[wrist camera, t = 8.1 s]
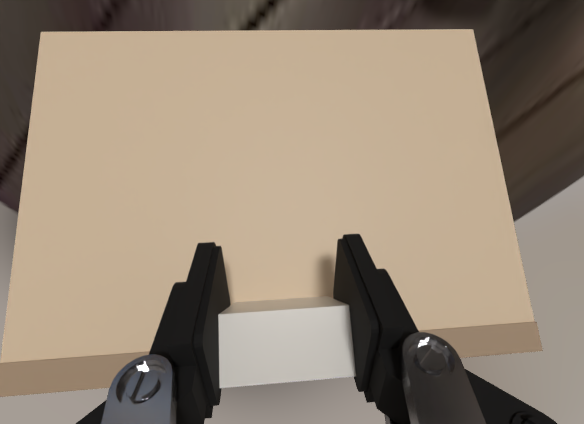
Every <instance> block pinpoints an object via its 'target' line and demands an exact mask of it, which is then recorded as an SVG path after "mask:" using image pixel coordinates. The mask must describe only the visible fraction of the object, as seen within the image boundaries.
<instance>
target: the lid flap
mask: <svg viewBox="0 0 584 424" xmlns="http://www.w3.org/2000/svg"><path fill="white" fill-rule="evenodd" d="M344 234H360V235H361V237H362V239H363V241H364V244H365V246H366V248H367V250H368V252H369V254H370V256H371V258H372V260H373V262H374V264H375V266H376V268H377V269H383V268H384V269H386V270H387V272H388V273H389V275H390V277H391V279H392V281H393V283H394V285H395V287H396V289H397V291H398V293H399V294H400V296H401V298H402V300H403V302H404V304H405V306H406V308H407V310H408V312H409V314H410V315H411V317H412V319H413V321H414V323H415V325H416V327H417V329H418V331H419V332H426V333H431V334H434V335H436V336H438V337H441V338H442V339H444V340H445V341H447V342H448V343H449V344H450V345H451V346H452V347H453V348H454V349H455V350H456V352H457V354H458V355H459V357H460V358H465V357H476V356H489V355H499V354H512V353H524V352H536V351H542V346H541V341H540V336H539V331H538V327H537V322H535V321H534V316H533V311H532V307H531V303H530V297H529V293H528V288H527V283H526V279H525V274H524V269H523V264H522V259H521V255H520V250H519V245H518V240H517V236H516V232H515V226H514V221H513V217H512V212H511V207H510V202H509V198H508V193H507V188H506V183H505V179H504V174H503V169H502V164H501V160H500V155H499V150H498V145H497V141H496V136H495V131H494V126H493V122H492V117H491V112H490V107H489V103H488V98H487V93H486V88H485V84H484V79H483V74H482V69H481V65H480V60H479V55H478V50H477V46H476V41H475V36H474V31H473V29H449V30H280V31H111V32H41V36H40V44H39V52H38V60H37V68H36V76H35V85H34V93H33V101H32V109H31V117H30V125H29V133H28V141H27V150H26V158H25V166H24V174H23V182H22V190H21V198H20V206H19V215H18V223H17V231H16V239H15V247H14V256H13V264H12V272H11V280H10V288H9V296H8V304H7V312H6V321H5V328H4V336H3V344H2V353H1V361H0V397H5V396H17V395H29V394H41V393H52V392H64V391H76V390H88V389H99V388H110V386H111V383H112V381H113V379H114V378H115V376H116V375H117V373H118V372H119V371H120V370H121V369H122V368H123V367H124V366H125V365H126V364H128V363H130V362H131V361H133V360H134V359H136V358H139V357H141V356H144V355H149V352H150V349H151V347H152V344H153V341H154V338H155V335H156V332H157V329H158V327H159V324H160V321H161V318H162V315H163V312H164V310H165V307H166V304H167V301H168V298H169V295H170V292H171V290H172V287H173V285H174V284H175V283H176V282H186V280H187V277H188V274H189V270H190V267H191V264H192V261H193V257H194V254H195V251H196V247H197V245H198V243H206V242H215V244H216V246H221V247H222V253H223V259H224V265H225V271H226V278H227V284H228V290H229V296H230V306H229V307H228V308H227V309H225V310H224V311H223V312H221V313H220V314H218V321H219V384H220V388H227V387H240V386H250V385H263V384H274V383H284V382H285V383H286V382H297V381H308V380H319V379H332V378H343V377H355V376H356V371H355V361H354V350H353V340H352V330H351V320H350V310H349V305H347V304H345V303H342V302H340V301H338V300H335V299H333V288H334V276H335V264H336V252H337V241H338V239H342V238H343V235H344Z"/></svg>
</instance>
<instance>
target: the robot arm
mask: <svg viewBox="0 0 584 424" xmlns="http://www.w3.org/2000/svg"><path fill="white" fill-rule="evenodd" d="M333 299H335V300H338V301H340V302H342V303H345V304H347V305H349V310H350V320H351V330H352V340H353V350H354V361H355V371H356V376H355V377H354V379H355V382H356V386H357V389H358V391H359V392H362V391H364V394H365V397H366V401H367V402H375V403H376V407H377V409H378V410H380V411H381V412H382V413H384V414H385V421H386V424H557V423H556V422H555V421H554V420H552V419H551V418H549V417H548V416H546V415H545V414H543V413H542V412H540V411H538V410H536V409H535V408H533V407H531V406H529V405H528V404H526V403H524V402H522V401H521V400H519V399H517V398H515V397H514V396H512V395H510V394H508V393H506V392H505V391H503V390H501V389H499V388H498V387H496V386H494V385H492V384H491V383H489V382H487V381H485V380H484V379H482V378H480V377H478V376H477V375H475V374H473V373H471V372H469V371H468V370H466V369H464V367H463V364H462V362H461V359H460V357H459V355H458V354H457V352H456V350H455V349H454V348H453V347H452V346H451V345H450V344H449V343H448V342H447V341H445V340H444V339H442V338H441V337H438V336H436V335H434V334H431V333H426V332H419V331H418V329H417V327H416V325H415V323H414V321H413V319H412V317H411V315H410V314H409V312H408V310H407V308H406V306H405V304H404V302H403V300H402V298H401V296H400V294H399V293H398V291H397V289H396V287H395V285H394V283H393V281H392V279H391V277H390V275H389V273H388V272H387V270H386V269H384V268H383V269H377V268H376V266H375V264H374V262H373V260H372V258H371V256H370V254H369V252H368V250H367V248H366V246H365V244H364V241H363V239H362V237H361V235H360V234H344V235H343V238H342V239H338V241H337V252H336V264H335V276H334V288H333ZM229 306H230V296H229V290H228V284H227V278H226V271H225V265H224V259H223V253H222V247H221V246H216V244H215V242H206V243H198V245H197V247H196V251H195V254H194V257H193V261H192V264H191V267H190V270H189V274H188V277H187V280H186V282H176V283H175V284H174V285H173V287H172V290H171V292H170V295H169V298H168V301H167V304H166V307H165V310H164V312H163V315H162V318H161V321H160V324H159V327H158V329H157V332H156V335H155V338H154V341H153V344H152V347H151V349H150V352H149V355H144V356H141V357H139V358H136V359H134V360H133V361H131V362H130V363H128V364H126V365H125V366H124V367H123V368H122V369H121V370H120V371H119V372H118V373H117V375H116V376H115V378H114V379H113V381H112V383H111V386H110V388H109V392H108V396H107V400H106V401H105V402H103V403H102V404H101V405H99V406H98V407H97V408H95V409H94V410H93V411H92V412H90V413H89V414H88V415H86V416H85V417H84V418H83V419H81V420H80V421H79V422H77V423H76V424H204V420H205V418H211V417H212V410H213V406H215V405H219V403H220V396H221V388H220V384H219V321H218V314H220V313H221V312H223V311H224V310H225V309H227V308H228V307H229Z"/></svg>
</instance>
